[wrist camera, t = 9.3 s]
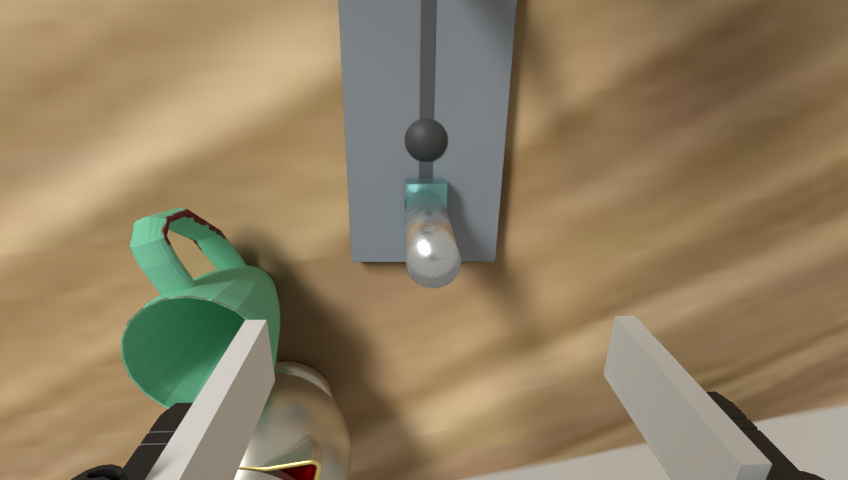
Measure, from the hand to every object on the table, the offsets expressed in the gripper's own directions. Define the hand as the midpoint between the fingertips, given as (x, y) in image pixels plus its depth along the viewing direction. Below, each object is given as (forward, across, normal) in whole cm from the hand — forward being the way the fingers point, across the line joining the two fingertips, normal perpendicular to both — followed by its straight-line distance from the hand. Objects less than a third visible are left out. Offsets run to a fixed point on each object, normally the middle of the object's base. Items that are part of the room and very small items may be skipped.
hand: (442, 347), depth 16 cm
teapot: (+21, -14, -21) cm, 33 cm away
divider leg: (+19, 0, 0) cm, 19 cm away
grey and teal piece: (+21, 0, +8) cm, 22 cm away
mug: (+21, -16, -6) cm, 27 cm away
